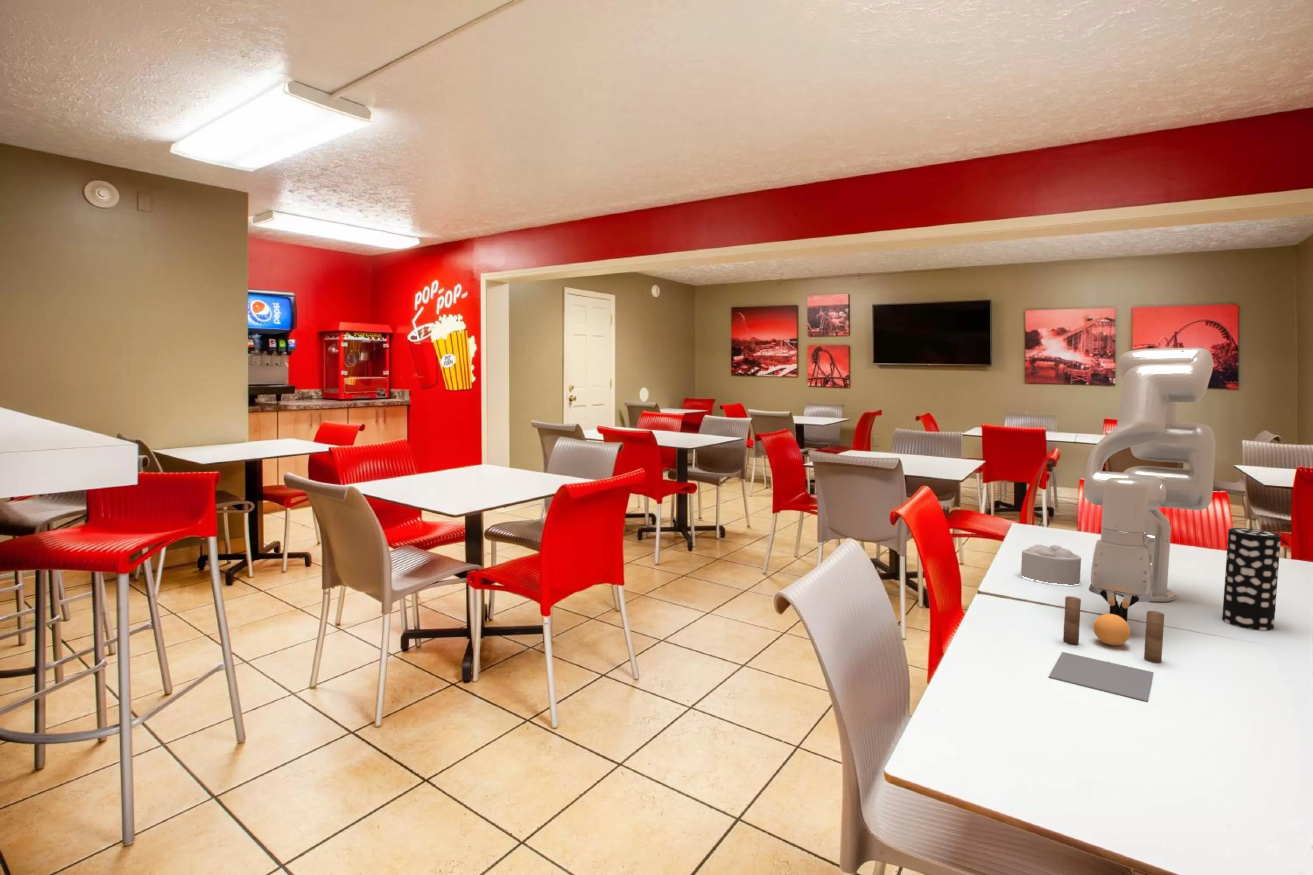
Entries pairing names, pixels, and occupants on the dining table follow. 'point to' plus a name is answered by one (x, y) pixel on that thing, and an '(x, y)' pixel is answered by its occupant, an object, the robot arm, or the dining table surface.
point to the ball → (1111, 629)
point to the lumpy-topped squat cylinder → (1051, 564)
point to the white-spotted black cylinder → (1251, 578)
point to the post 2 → (1154, 636)
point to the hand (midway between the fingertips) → (1117, 624)
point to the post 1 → (1072, 620)
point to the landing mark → (1103, 676)
